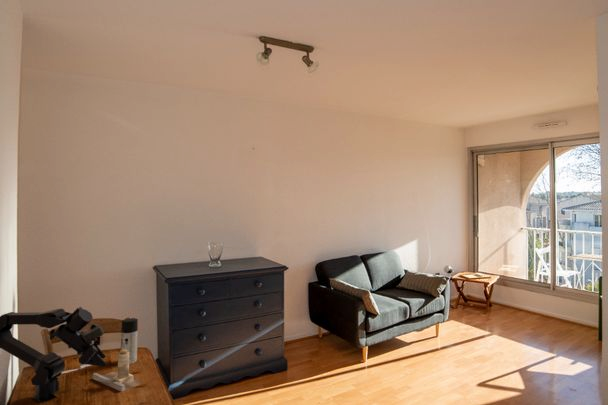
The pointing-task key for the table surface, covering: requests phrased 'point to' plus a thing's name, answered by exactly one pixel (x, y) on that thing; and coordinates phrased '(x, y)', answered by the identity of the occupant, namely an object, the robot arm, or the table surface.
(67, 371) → the pliers
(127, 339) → the spray can
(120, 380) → the white tall rounded post
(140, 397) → the table surface
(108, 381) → the board
